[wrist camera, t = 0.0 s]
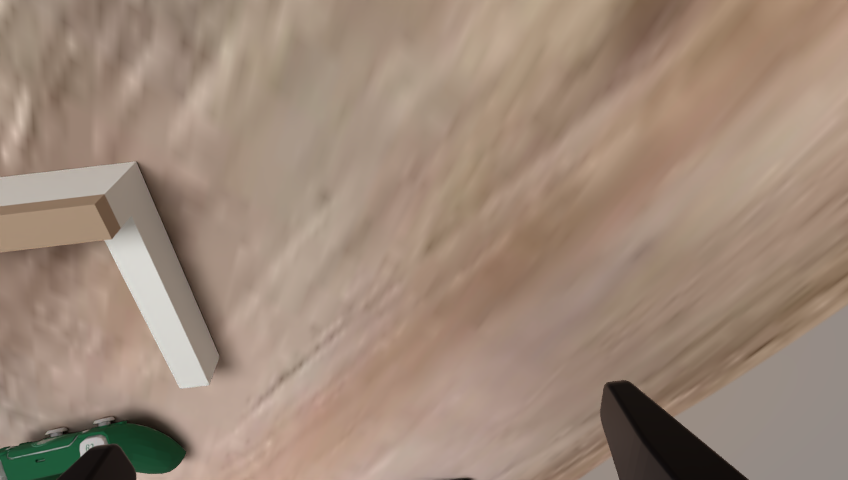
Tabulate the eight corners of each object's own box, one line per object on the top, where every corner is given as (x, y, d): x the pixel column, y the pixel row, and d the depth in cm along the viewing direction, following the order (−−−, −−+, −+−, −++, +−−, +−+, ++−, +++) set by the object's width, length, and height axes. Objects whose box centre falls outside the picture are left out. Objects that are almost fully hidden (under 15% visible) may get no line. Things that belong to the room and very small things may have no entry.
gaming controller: (184, 401, 32) (119, 413, 26) (191, 465, 31) (125, 491, 26) (48, 432, 33) (-46, 450, 27) (50, 495, 32) (-46, 528, 26)
